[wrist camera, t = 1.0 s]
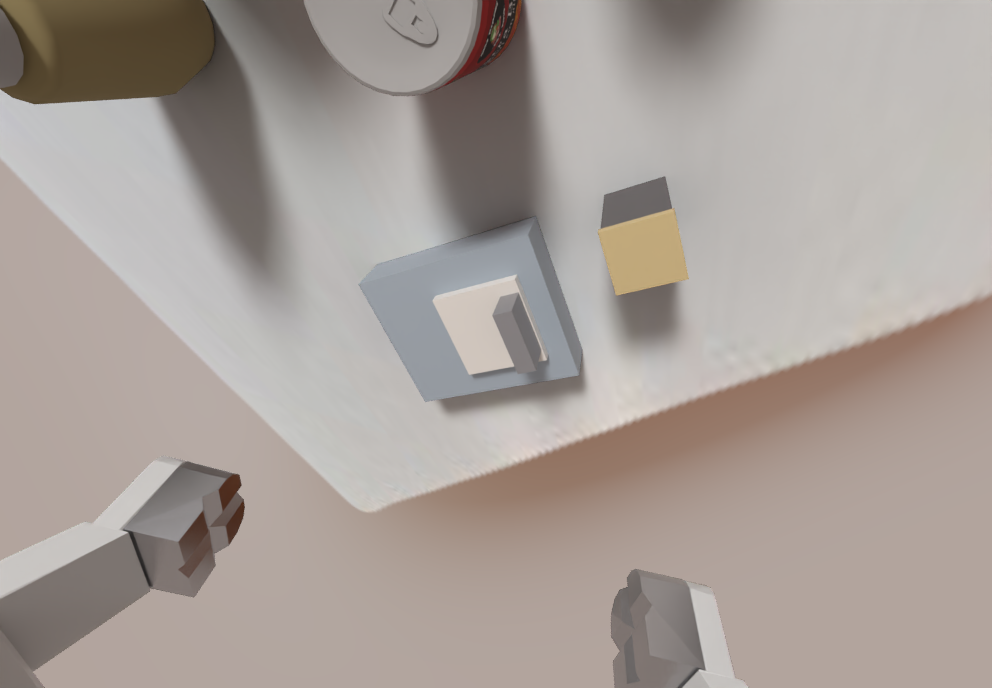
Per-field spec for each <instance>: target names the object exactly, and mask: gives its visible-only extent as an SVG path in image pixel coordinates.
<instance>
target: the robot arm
mask: <svg viewBox="0 0 992 688" xmlns="http://www.w3.org/2000/svg"><path fill="white" fill-rule="evenodd" d="M240 487H241V480H240V476H239V475H238V474H235V473H230V472H227V471H223V470H219V469H214V468H211V467H207V466H203V465H199V464H195V463H191V462H189V461H184V460H180V459H176V458H172V457H167V456H161V457H160V458H158V459H156V460H154V461H153V462H151V464H150V465H149V466H148V467H147V468H146V469H145V470H144V471H143V472H142V473H141V474H140V475H139V476H138V477H137V478H136V479H135V480H134V481H133V482H132V483H131V484H130V485H129V486H128V487H127V488H126V489H125V490H124V491H123V492H122V493H121V494H120V495H119V496H118V497H117V499H116V500H115V501H114V502H113V503H112V504H111V505H110V506H109V507H108V508H107V509H106V510H105V511H104V512H103V513H102V514H101V515H100V516H99V517H98V518H97V519H96V520H95V521H94V522H93V523H90V522H83V523H81V524H78V525H76V526H74V527H72V528H70V529H68V530H66V531H63V532H61V533H59V534H57V535H55V536H53V537H50V538H48V539H46V540H44V541H42V542H39V543H37V544H35V545H33V546H31V547H29V548H26V549H24V550H22V551H20V552H18V553H16V554H14V555H11V556H9V557H7V558H5V559H3V560H0V688H45V687H44V686H43V685H42V683H41V682H40V681H39V680H38V678H37V677H36V675H35V674H34V673H33V671H35V670H36V669H38V668H39V667H40V666H42V665H43V664H45V663H46V662H48V661H49V660H50V659H52V658H54V657H55V656H56V655H58V654H59V653H61V652H62V651H64V650H65V649H67V648H68V647H69V646H71V645H72V644H74V643H75V642H77V641H78V640H80V639H81V638H83V637H84V636H86V635H87V634H89V633H90V632H91V631H93V630H94V629H96V628H97V627H99V626H100V625H102V624H103V623H105V622H106V621H107V620H109V619H110V618H112V617H113V616H115V615H116V614H118V613H119V612H121V611H122V610H124V609H125V608H126V607H128V606H129V605H131V604H132V603H134V602H135V601H137V600H138V599H139V598H141V597H143V596H144V595H145V594H147V593H148V592H150V588H151V589H156V590H161V591H166V592H170V593H175V594H180V595H185V596H190V597H195V596H196V594H197V593H198V591H199V590H200V588H201V586H202V585H203V584H204V582H205V581H206V579H207V578H208V576H209V575H210V573H211V572H212V570H213V568H214V567H215V553H217V552H218V551H220V550H222V549H223V548H225V547H227V546H229V544H230V543H231V541H232V540H233V538H234V537H235V535H236V533H237V532H238V529H239V527H240V524H241V522H242V519H243V516H244V508H245V506H244V499H243V498H242V497H241V496H240V495H239V494H238V493H237V491H238V490H239V488H240ZM627 582H628V583H627V584H628V587H626V588H623V589H621V590H619V592H618V594H617V596H616V598H615V600H614V604H613V608H612V613H611V637H612V639H613V640H614V642H615V644H616V646H617V647H618V649H619V650H620V652H619V653H618V655H617V656H616V658H615V659H614V661H613V670H614V685H615V688H749V687H748V686H747V684H746V683H745V682H744V680H742V679H738V678H736V677H735V673H734V669H733V665H732V661H731V658H730V654H729V650H728V646H727V642H726V638H725V634H724V630H723V626H722V622H721V618H720V614H719V610H718V606H717V602H716V598H715V594H714V592H713V591H712V589H711V588H710V587H708V586H706V585H702V584H697V583H693V582H688V581H684V580H682V579H679V578H674V577H669V576H665V575H661V574H656V573H652V572H647V571H642V570H638V569H635V570H632V571H631V572H630V574H629V576H628V577H627Z"/></svg>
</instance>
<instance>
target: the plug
mask: <svg viewBox="0 0 992 688" xmlns="http://www.w3.org/2000/svg"><path fill="white" fill-rule="evenodd" d="M598 235H599V238H600V242H601V245H602V248H603V252H604V255H605V259H606V262H607V266H608V269H609V273H610V276H611V279H612V283H613V286H614V290H615V293H616V296H617V295H621V294H625V293H630V292H634V291H639V290H643V289H647V288H652V287H656V286H660V285H665V284H669V283H674V282H678V281H682V280H687V279H689V278H688V273H687V268H686V263H685V258H684V253H683V249H682V244H681V239H680V234H679V229H678V224H677V220H676V215H675V210H674V208H673V209H672V206H671V201H670V197H669V192H668V188H667V183H666V178H665V177H662V178H658V179H655V180H652V181H649V182H645V183H642V184H639V185H635V186H632V187H629V188H626V189H622V190H619V191H616V192H613V193H609V194H606V195H604V204H603V213H602V222H601V229H598Z"/></svg>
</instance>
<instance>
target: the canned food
mask: <svg viewBox="0 0 992 688" xmlns="http://www.w3.org/2000/svg"><path fill="white" fill-rule="evenodd" d="M304 5H305V8H306V10H307V13H308V16H309V18H310V21H311V24H312V26H313V28H314V30H315V32H316V34H317V35H318V37H319V39H320V41H321V43H322V45H323V46H324V47H325V49H326V50H327V51H328V53H329V54H330V55H331V57H332V58H333V59H334V61H335V62H336V63H337V64H338V65H339V66H340V67H341V68H342V69H343V70H344V71H345V72H346V73H347V74H349V75H350V76H351V77H353V78H354V79H356V80H357V81H358V82H360V83H361V84H363V85H365V86H367V87H369V88H371V89H373V90H375V91H377V92H381V93H385V94H389V95H393V96H415V95H420V94H425V93H429V92H431V91H433V90H437V89H439V88H441V87H443V86H445V85H447V84H449V83H451V82H453V81H455V80H458V79H460V78H462V77H464V76H466V75H468V74H470V73H472V72H474V71H476V70H478V69H480V68H482V67H484V66H486V65H488V64H490V63H491V62H492V61H494V60H495V59H496V58H497V57H499V56H500V55H501V53H502V52H503V51H504V50H505V48H506V47H507V46H508V44H509V43H510V41H511V39H512V37H513V35H514V33H515V30H516V27H517V24H518V21H519V17H520V10H521V0H304Z"/></svg>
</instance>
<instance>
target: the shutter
mask: <svg viewBox="0 0 992 688" xmlns="http://www.w3.org/2000/svg"><path fill="white" fill-rule="evenodd" d="M433 303H434V305H435V307H436V309H437V311H438V313H439V315H440V317H441V319H442V321H443V323H444V325H445V327H446V329H447V331H448V333H449V335H450V337H451V340H452V342H453V344H454V346H455V348H456V350H457V352H458V354H459V356H460V358H461V360H462V362H463V364H464V366H465V368H466V370H467V372H468V374H469V375H471V374H476V373H482V372H487V371H492V370H498V369H503V368H508V367H513V366H514V367H515V369H516V371H517V373H518V374H521V373H527V372H532V371H536V370H537V366H538V362H540V361H545V360H547V358H548V352H547V350H546V347H545V344H544V342H543V339H542V337H541V334H540V332H539V329H538V327H537V324H536V321H535V319H534V316H533V314H532V311H531V309H530V306H529V304H528V301H527V298H526V296H525V293H524V291H523V288H522V286H521V283H520V281H519V278H518V275H517V274H516V275H512V276H508V277H505V278H501V279H497V280H493V281H489V282H486V283H482V284H478V285H474V286H470V287H467V288H463V289H459V290H455V291H451V292H448V293H444V294H440V295H436V296H435V297H434V299H433Z"/></svg>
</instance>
